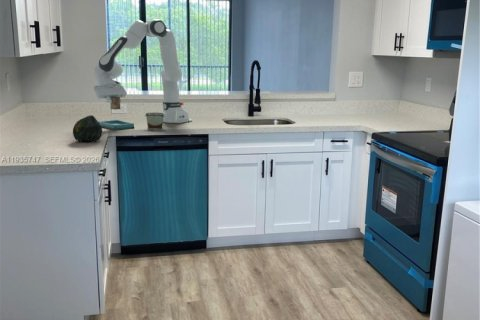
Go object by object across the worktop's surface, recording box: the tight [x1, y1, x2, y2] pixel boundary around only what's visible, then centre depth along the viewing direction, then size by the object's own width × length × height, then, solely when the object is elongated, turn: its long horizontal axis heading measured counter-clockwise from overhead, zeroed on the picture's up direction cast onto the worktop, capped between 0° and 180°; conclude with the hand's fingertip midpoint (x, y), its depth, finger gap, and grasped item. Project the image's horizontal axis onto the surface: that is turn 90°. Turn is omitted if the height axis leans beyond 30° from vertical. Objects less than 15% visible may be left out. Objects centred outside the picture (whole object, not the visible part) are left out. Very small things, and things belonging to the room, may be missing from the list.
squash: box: [72, 115, 103, 142], centre depth 250 cm, size 14×15×15 cm
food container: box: [145, 111, 164, 130], centre depth 299 cm, size 12×6×10 cm, turn 84°
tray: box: [98, 119, 135, 131], centre depth 300 cm, size 14×20×3 cm
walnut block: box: [110, 96, 121, 110], centre depth 297 cm, size 4×4×8 cm
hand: (115, 102), depth 296 cm, fingers closed on walnut block, 4 cm apart
